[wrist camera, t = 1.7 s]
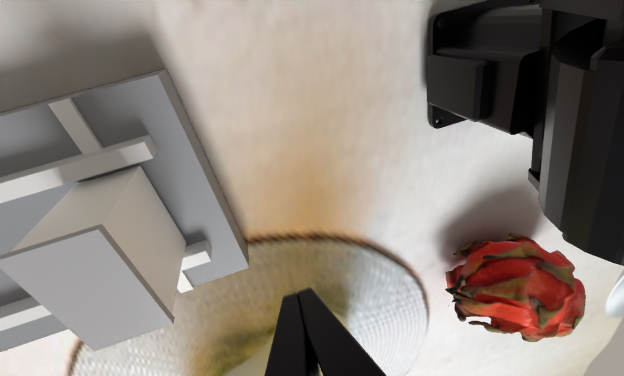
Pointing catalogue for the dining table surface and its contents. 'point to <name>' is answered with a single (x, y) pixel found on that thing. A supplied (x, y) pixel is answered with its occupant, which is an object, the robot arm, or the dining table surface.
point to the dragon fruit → (517, 288)
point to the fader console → (103, 161)
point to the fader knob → (103, 259)
